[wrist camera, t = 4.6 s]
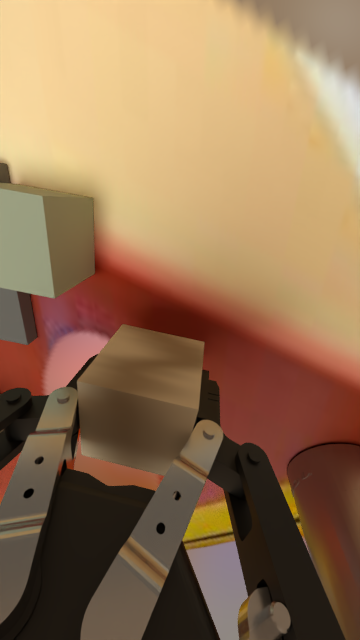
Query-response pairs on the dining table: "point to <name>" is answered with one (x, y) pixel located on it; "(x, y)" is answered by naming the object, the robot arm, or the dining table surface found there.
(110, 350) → the birch block
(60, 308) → the dining table surface
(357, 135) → the dining table surface
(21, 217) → the green block
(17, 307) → the base plate
